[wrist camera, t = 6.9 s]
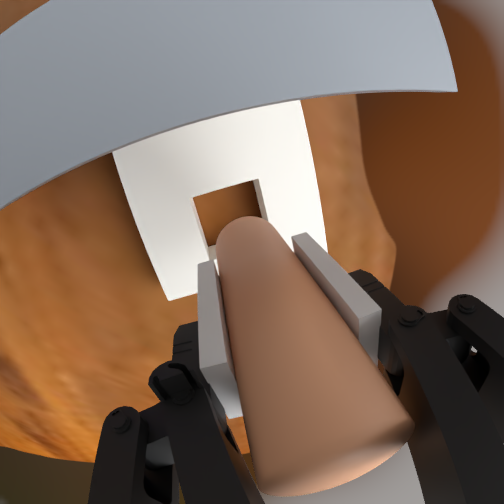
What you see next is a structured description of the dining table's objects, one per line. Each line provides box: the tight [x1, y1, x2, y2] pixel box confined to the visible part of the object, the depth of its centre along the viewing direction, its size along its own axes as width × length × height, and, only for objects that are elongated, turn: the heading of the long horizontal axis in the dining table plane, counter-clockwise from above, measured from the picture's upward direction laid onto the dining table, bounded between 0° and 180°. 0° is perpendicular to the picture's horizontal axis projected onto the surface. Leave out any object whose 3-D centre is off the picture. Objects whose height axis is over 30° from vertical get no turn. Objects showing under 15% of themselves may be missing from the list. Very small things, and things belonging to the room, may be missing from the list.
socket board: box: [0, 0, 458, 301], centre depth 15 cm, size 15×17×17 cm
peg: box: [216, 216, 415, 496], centre depth 11 cm, size 4×4×13 cm
